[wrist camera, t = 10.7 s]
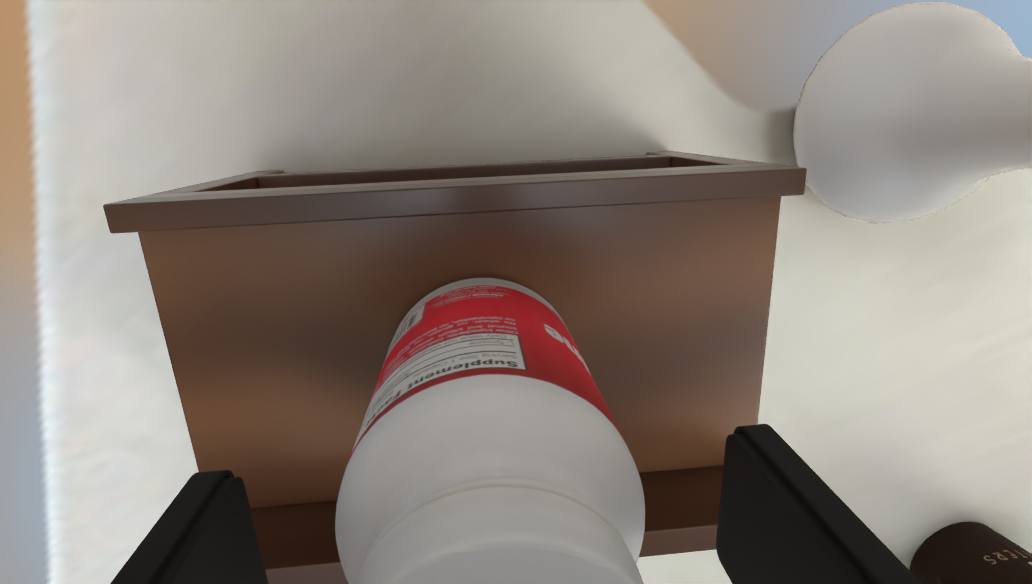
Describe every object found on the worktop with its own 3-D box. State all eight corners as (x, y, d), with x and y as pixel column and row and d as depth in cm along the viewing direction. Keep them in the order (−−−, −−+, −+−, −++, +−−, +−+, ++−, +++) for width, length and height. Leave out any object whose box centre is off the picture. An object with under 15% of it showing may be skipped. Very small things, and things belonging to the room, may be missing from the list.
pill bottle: (582, 422, 19) (722, 780, 9) (412, 454, 19) (345, 860, 9) (559, 256, 17) (701, 454, 7) (370, 289, 17) (217, 546, 7)
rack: (257, 171, 25) (53, 215, 13) (670, 150, 27) (849, 172, 14) (298, 398, 29) (170, 606, 16) (661, 369, 30) (797, 541, 18)
